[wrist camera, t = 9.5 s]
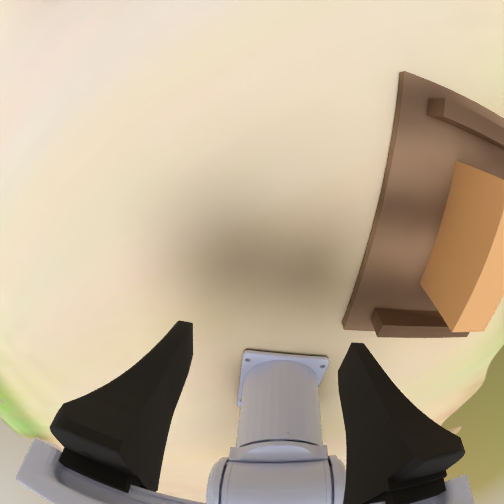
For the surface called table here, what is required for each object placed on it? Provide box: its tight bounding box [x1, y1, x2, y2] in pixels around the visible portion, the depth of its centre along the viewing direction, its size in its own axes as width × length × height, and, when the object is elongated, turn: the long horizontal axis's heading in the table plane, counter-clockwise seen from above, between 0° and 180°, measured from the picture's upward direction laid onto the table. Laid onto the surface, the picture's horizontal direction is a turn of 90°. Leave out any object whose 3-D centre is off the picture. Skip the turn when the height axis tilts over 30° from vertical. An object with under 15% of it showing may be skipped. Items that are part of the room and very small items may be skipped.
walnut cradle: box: [342, 71, 504, 338], centre depth 17 cm, size 20×14×3 cm
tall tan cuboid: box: [420, 161, 504, 332], centre depth 15 cm, size 10×4×6 cm, turn 175°
